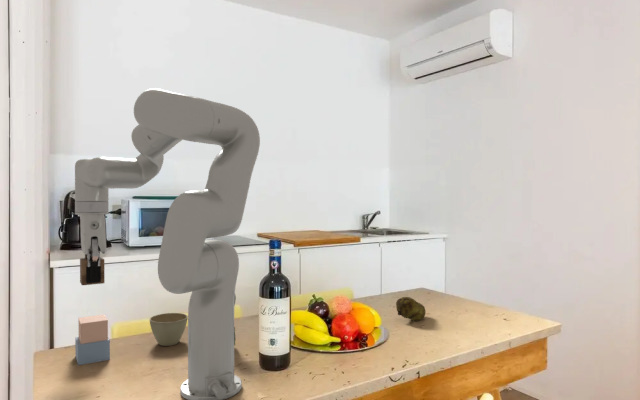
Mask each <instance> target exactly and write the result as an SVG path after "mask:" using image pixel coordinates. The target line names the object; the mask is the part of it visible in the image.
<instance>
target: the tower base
mask: <svg viewBox="0 0 640 400" xmlns="http://www.w3.org/2000/svg"><path fill="white" fill-rule="evenodd" d="M110 342H111V341H110V338H109V337H108V340H104V341H98V342H92V343H85V344H80V340H79V336H75V342H74V343H75V345H74V346H75V349H74V350H75V353H74V354H75V360H76V363H77V365H78V366H81V365H88V364H94V363H98V362H104V361H109V360H111V347H110V346H111V345H110V344H111V343H110Z"/></svg>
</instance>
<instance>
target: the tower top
mask: <svg viewBox="0 0 640 400" xmlns="http://www.w3.org/2000/svg"><path fill="white" fill-rule="evenodd" d="M78 337H79V340H80V344H85V343H92V342H98V341H104V340H108V338H109V319H108V317H107V316H106V315H105V314H98V315H90V316H89V315H88V316H84V317H78Z"/></svg>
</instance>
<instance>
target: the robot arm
mask: <svg viewBox="0 0 640 400" xmlns="http://www.w3.org/2000/svg"><path fill="white" fill-rule="evenodd" d="M133 115H134V119H135V121H136V122H137V124H138V125H136V126H135V127H134V128H133V130H132V132H131V141H132V144H133V146H134V147H135V149H136V150H137V152H139V153H140V154H139V155H137V156H136V157H135V158H124V157H107V156H98V157H94V158H82V159H81V158H80V159H78V160H77V161H76V162H75V163H74V200H75V201H74V215H77V216H80V225H79V226H80V246H81V251H82V253H83V254H84V258H87V267H86V282H87V283H97V282H101V266H100V257H101V254H103V255H105V254H106V253H107V232H106V229H107V228H106V218H105V215H109V189H110V190H111V189H129V190H130V189H132V190H133V189H138V188H140V187H142V186H145V185H146V184H147V183H149V182H150V181H151V180H153V179H154V178H155V177H157V176H158V175H159V174H160V172H161V169H162V166H163V164H164V157H165V154H167V153H168V152H169V151H170V150H172V149H173V148H174V147H176V146H177V145H178V144H179V143H181V141H187V142H191V143H193V142H194V143H199V144H200V143H201V144H206V145H207V144H208V145H215V146H219V147H221V150H220V151H219V153H218V154H217V155H216V156H215V157H214V160H213V161H212V163H211V165H210V168H209V170H208V177H207V180H206V185H205V188H204V189H203V190H202V189H200V190H198V189H197V190H188V191H187V190H186V191H184V192H182V193H181V194H179V195H178V196H177V197H175V199H174V200H173V201H172V203H171V204H170V206H169V209H168V211H167V214H166V219H165V223H164V228H163V234H162V239H161V243H160V250H159V254H158V255H159V256H158V261H157V276H158V280H159V282H160V284H161V286H162V287H163V289H165V290H166V291H167V292H169V293H171V294H175V295H177V294H178V295H181V294H186V293H187V294H188V293H191V294H190V298H189V301H188V308H187V316H188V318H187V379H186V380H185V381H183V383H182V384H181V385H180V387H179V388H180V393H179V394H180V395H181V396H182V397H183V398H184V399H185V400H227V399H229V398H231V397H234V396H235V395H237V394H238V393H239V392H240V391H241V389H242V386H243V385H242V379H241V378H240V377H239V376H238V375H236V374H235V346H234V327H235V306H234V301H235V302H236V300H235V296H236V285H237V280H238V275H239V268H240V261H239V254H238V252H237V250H236V248H235V247H234V246H233V245H232V244H230V243H229V242H227V241H225V240H220V239H213V238H221V237H226V236H230V235H233V234H234V233H236V232H237V231H238V230H239V228H240V226H241V224H242V220H243V216H244V212H245V208H246V202H247V198H248V194H249V188H250V184H251V179H252V174H253V172H254V167H255V164H256V161H257V159H258V155H259V152H260V151H259V150H260V145H261V137H260V132H259V128H258V126H257V123H256V122H255V120H253V118H252V117H251V116H250V115H249V114H248V113H246V112H245V111H244V110H242V109H240V108H237V107H234V106H231V105H227V104H224V103H221V102H217V101H212V100H208V99H205V98H200V97H197V96H192V95H188V94H187V95H186V94H183V93H177V92H172V91H169V90H164V89H161V88H156V87H155V88H149V89H147V90H144V91H143V92H142V93H140V94H139V95H138V97H137V99H136V100H135V102H134V105H133ZM206 239H207V240H206Z"/></svg>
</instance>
